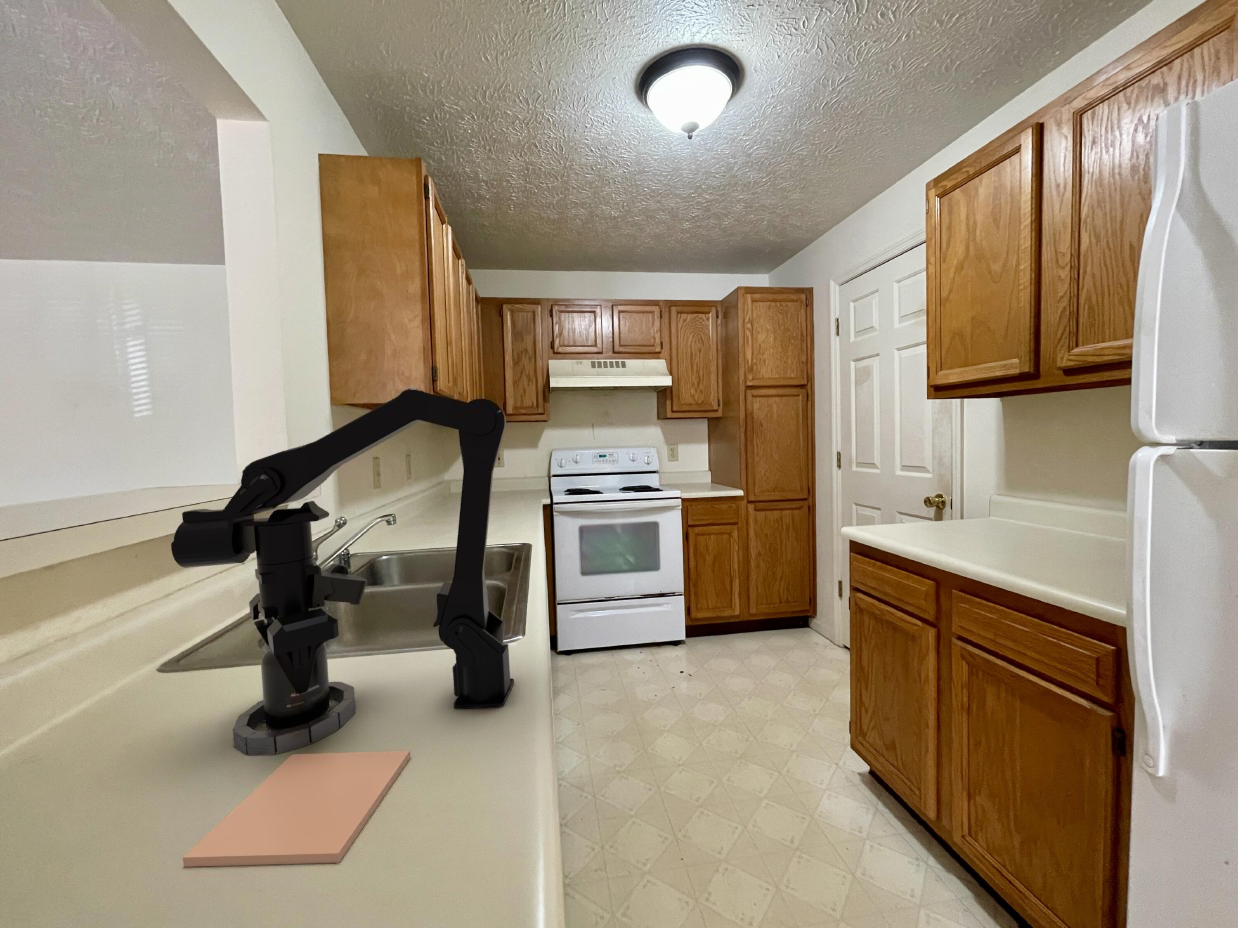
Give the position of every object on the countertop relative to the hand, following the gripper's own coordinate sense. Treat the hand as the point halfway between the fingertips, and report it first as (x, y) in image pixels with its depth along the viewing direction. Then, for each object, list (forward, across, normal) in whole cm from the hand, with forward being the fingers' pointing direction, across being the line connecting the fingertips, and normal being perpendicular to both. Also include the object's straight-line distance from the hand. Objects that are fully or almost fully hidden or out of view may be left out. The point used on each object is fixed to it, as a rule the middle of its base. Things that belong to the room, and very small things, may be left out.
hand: (296, 682), depth 60 cm
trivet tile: (+5, -18, +2) cm, 18 cm away
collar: (+5, 0, 0) cm, 5 cm away
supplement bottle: (+5, 0, 0) cm, 5 cm away
